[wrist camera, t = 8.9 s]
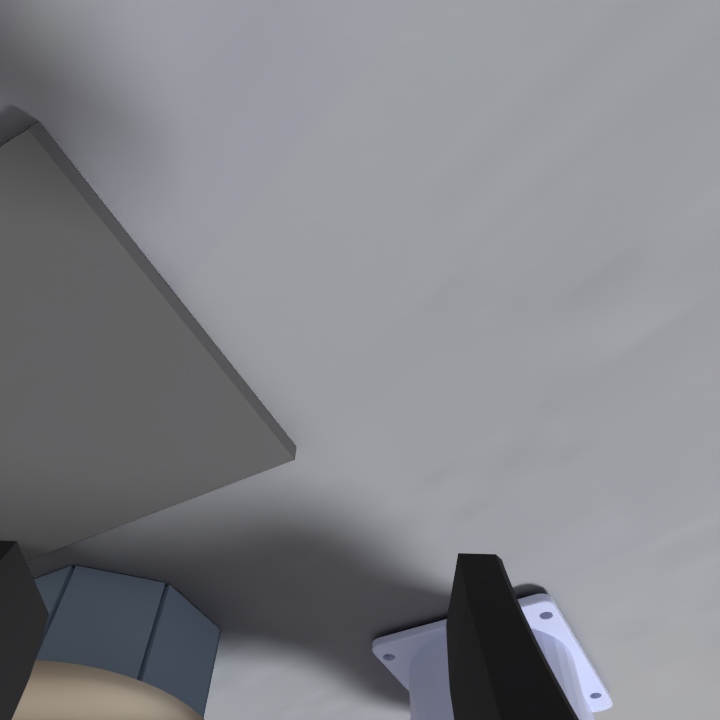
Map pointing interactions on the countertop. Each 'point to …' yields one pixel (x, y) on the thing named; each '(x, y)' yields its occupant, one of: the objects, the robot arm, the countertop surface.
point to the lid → (94, 696)
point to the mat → (103, 369)
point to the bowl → (129, 631)
